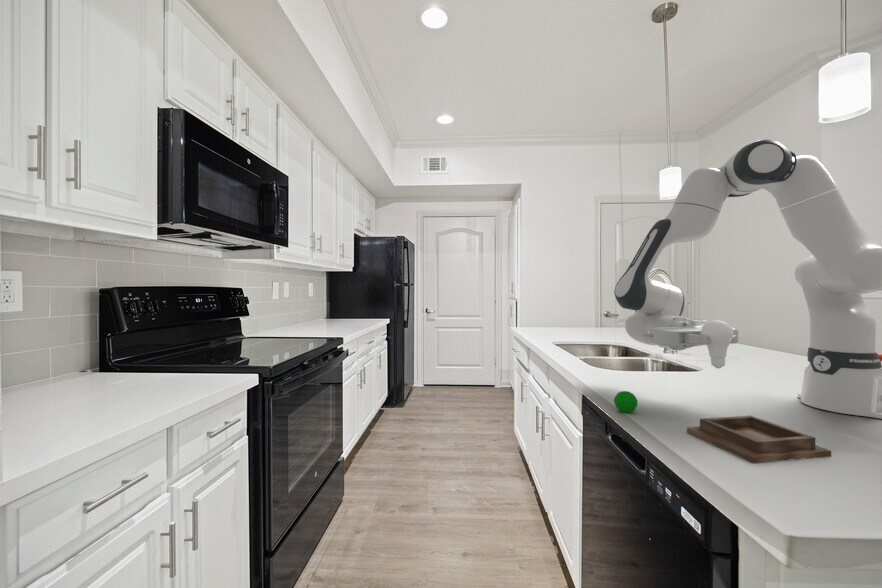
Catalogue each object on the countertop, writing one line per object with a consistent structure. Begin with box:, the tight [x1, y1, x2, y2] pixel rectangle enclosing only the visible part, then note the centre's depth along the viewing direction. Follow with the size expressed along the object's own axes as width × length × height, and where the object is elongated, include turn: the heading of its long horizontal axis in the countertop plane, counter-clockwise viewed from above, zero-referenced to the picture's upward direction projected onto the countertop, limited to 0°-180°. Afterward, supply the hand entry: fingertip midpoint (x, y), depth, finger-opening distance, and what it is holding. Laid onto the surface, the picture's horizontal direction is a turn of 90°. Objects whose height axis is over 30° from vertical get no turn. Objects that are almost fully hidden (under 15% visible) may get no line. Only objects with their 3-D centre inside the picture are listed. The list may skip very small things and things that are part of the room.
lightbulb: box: [701, 319, 734, 369], centre depth 87 cm, size 6×6×11 cm
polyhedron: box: [613, 390, 638, 414], centre depth 91 cm, size 5×5×5 cm
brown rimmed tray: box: [686, 415, 832, 464], centre depth 73 cm, size 16×14×3 cm
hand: (721, 340), depth 86 cm, fingers closed on lightbulb, 5 cm apart
